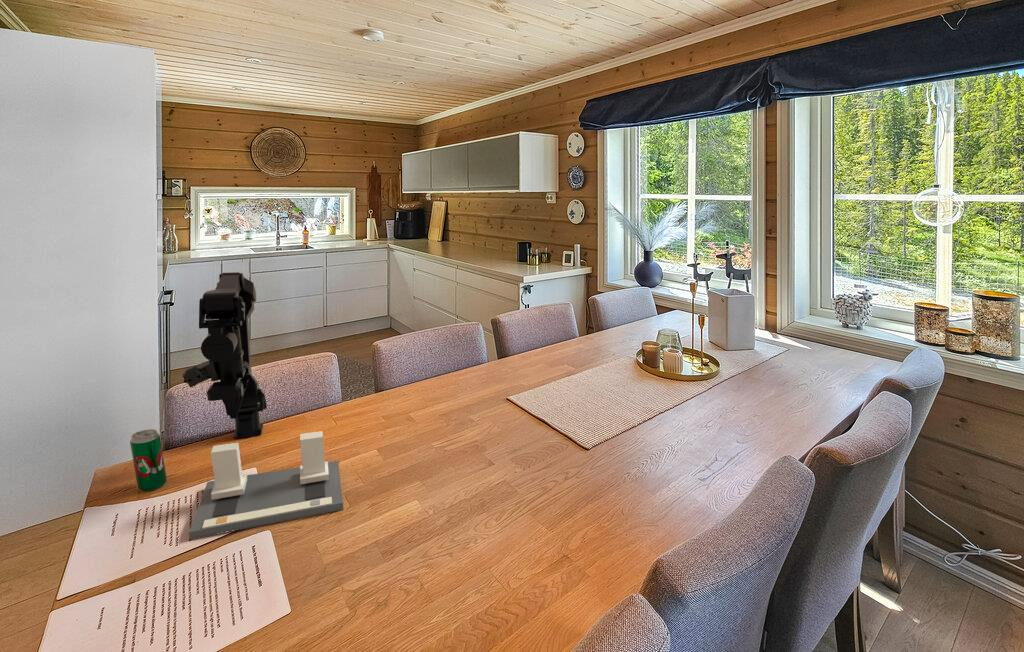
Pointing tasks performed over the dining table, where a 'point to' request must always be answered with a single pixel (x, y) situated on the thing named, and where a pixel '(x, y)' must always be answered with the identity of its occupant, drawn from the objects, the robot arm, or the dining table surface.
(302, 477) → the tab
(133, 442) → the soda can
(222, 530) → the switch board
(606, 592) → the dining table surface
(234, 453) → the tab front
